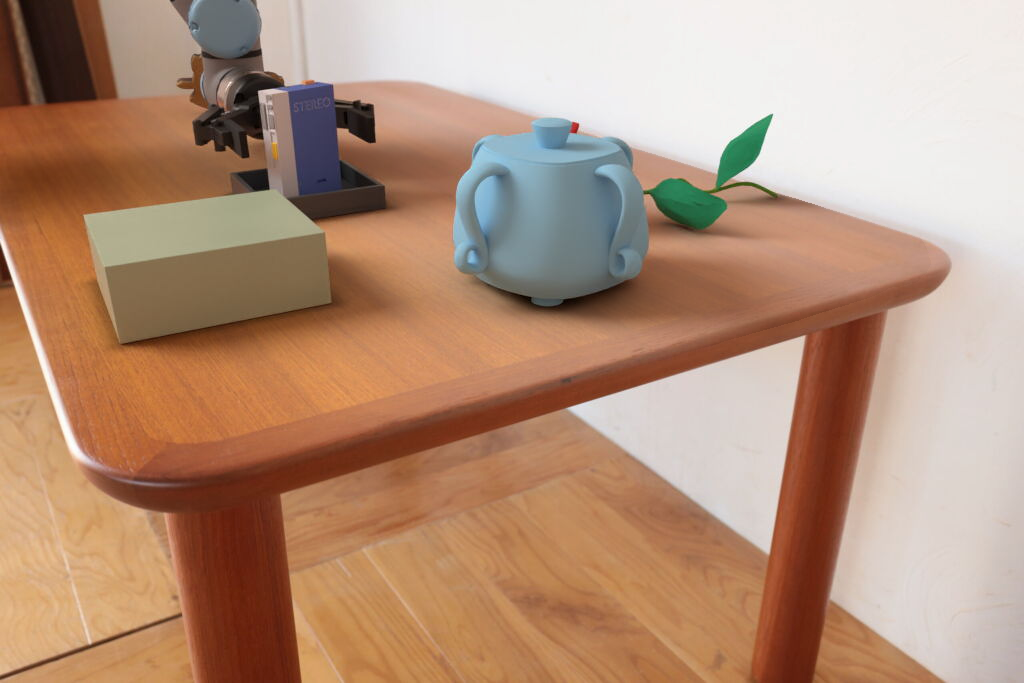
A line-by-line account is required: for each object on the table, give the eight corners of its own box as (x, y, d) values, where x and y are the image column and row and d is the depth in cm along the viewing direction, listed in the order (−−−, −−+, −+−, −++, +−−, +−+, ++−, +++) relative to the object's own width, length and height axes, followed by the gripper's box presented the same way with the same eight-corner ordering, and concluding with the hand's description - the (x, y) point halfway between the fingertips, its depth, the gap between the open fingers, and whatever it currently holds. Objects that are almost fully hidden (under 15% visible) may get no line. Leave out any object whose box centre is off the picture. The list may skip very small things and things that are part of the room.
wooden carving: (283, 104, 149) (276, 41, 144) (288, 109, 145) (282, 45, 141) (179, 112, 143) (169, 47, 138) (182, 118, 139) (171, 50, 135)
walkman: (326, 187, 101) (316, 78, 96) (342, 191, 100) (333, 80, 95) (268, 202, 96) (254, 87, 91) (284, 207, 94) (270, 90, 89)
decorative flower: (834, 230, 89) (850, 132, 85) (548, 253, 83) (550, 148, 79) (766, 191, 102) (777, 104, 97) (512, 209, 95) (512, 116, 91)
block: (97, 282, 76) (83, 214, 74) (283, 252, 83) (275, 188, 81) (120, 344, 65) (104, 267, 62) (331, 303, 72) (325, 232, 70)
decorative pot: (430, 309, 71) (423, 138, 65) (476, 243, 85) (474, 97, 79) (637, 326, 68) (648, 148, 62) (649, 254, 82) (659, 104, 77)
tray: (232, 194, 100) (229, 172, 99) (345, 179, 106) (343, 158, 105) (263, 226, 90) (260, 202, 89) (386, 208, 96) (385, 185, 95)
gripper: (355, 124, 117) (421, 159, 100) (154, 145, 106) (191, 188, 89) (351, 64, 113) (418, 90, 97) (143, 80, 102) (179, 112, 86)
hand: (310, 137), depth 93 cm, fingers open, 13 cm apart
